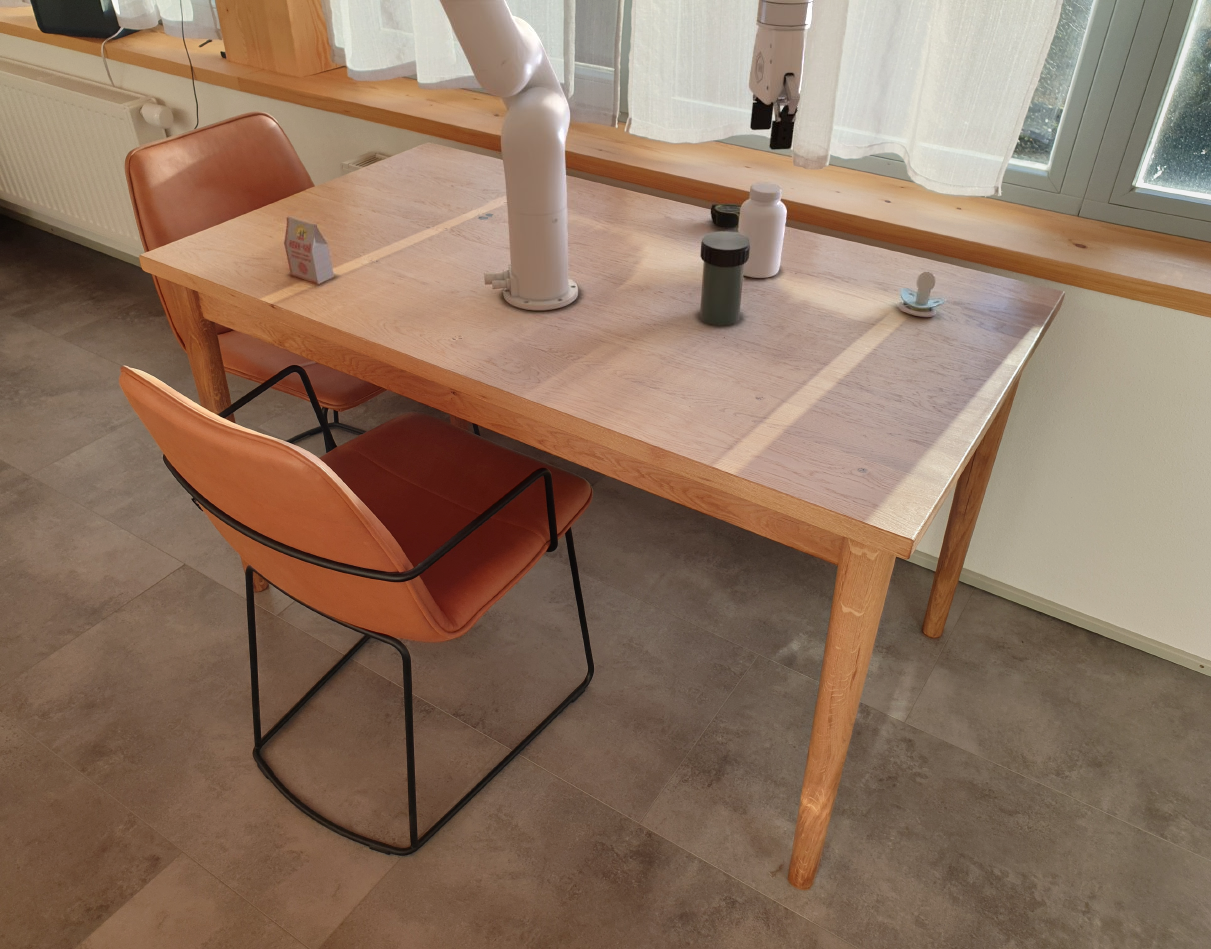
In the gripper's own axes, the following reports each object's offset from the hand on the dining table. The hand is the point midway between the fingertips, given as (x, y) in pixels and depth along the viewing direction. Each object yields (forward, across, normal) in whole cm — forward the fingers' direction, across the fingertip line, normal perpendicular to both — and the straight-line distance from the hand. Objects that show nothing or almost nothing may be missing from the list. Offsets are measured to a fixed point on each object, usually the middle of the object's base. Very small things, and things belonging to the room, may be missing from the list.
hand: (770, 138), depth 141 cm
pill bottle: (+27, -12, +5) cm, 30 cm away
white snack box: (+28, -22, -73) cm, 81 cm away
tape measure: (+27, -34, +5) cm, 43 cm away
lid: (+14, +5, -7) cm, 17 cm away
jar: (+27, +5, -7) cm, 28 cm away
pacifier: (+27, +8, +26) cm, 38 cm away
